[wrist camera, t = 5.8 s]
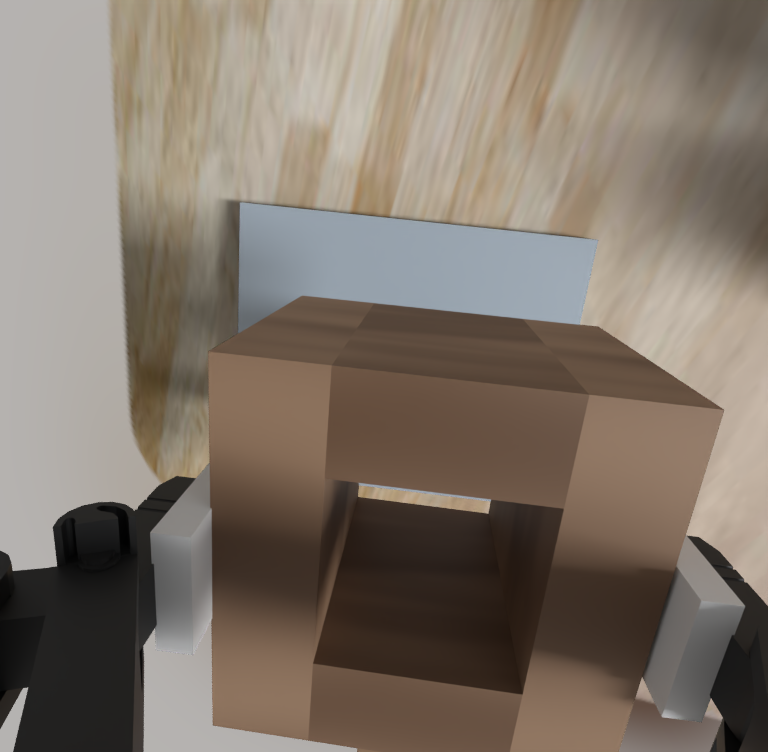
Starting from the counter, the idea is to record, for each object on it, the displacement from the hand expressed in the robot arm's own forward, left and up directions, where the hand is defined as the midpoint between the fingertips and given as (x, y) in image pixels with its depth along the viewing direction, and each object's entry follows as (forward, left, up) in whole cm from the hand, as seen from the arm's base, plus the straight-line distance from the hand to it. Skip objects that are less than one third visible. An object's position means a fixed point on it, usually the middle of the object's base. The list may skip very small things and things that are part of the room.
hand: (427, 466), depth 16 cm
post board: (+1, -1, -16) cm, 16 cm away
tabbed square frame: (+2, 0, -1) cm, 2 cm away
